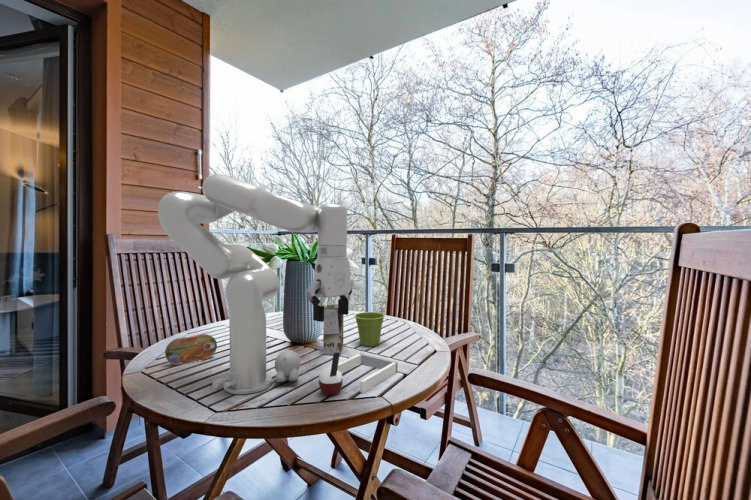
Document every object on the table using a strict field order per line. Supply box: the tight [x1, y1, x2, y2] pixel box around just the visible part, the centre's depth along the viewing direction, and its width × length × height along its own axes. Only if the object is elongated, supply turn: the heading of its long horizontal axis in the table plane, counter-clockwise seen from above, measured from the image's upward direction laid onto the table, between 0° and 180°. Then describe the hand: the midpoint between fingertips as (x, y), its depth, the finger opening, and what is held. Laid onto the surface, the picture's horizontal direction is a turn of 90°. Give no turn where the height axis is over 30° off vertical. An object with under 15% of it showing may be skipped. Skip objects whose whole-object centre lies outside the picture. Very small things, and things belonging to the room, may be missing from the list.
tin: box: [164, 333, 218, 366], centre depth 115 cm, size 15×3×8 cm, turn 129°
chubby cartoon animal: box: [274, 350, 302, 383], centre depth 102 cm, size 7×12×8 cm, turn 9°
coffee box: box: [322, 304, 344, 356], centre depth 127 cm, size 9×6×16 cm
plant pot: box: [353, 311, 386, 347], centre depth 135 cm, size 12×12×11 cm
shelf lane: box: [329, 353, 399, 394], centre depth 104 cm, size 18×14×3 cm
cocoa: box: [318, 352, 344, 396], centre depth 92 cm, size 10×6×12 cm, turn 3°
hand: (331, 317), depth 92 cm, fingers open, 9 cm apart
